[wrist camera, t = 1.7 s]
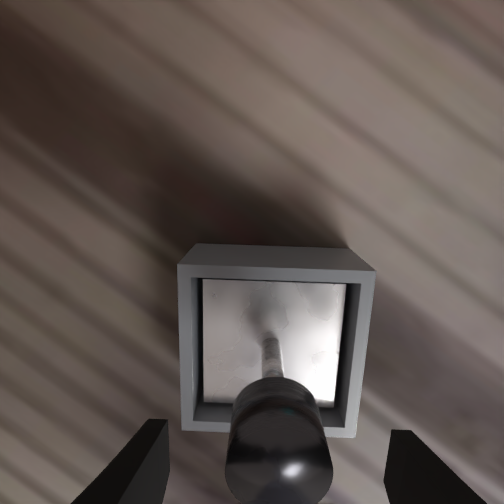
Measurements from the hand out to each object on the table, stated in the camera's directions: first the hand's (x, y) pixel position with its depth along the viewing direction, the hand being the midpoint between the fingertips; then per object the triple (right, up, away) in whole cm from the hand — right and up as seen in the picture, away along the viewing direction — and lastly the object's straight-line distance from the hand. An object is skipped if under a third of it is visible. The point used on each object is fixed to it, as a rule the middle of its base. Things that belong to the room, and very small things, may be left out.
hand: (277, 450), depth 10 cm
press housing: (0, +2, +10) cm, 10 cm away
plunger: (0, +2, +7) cm, 7 cm away
